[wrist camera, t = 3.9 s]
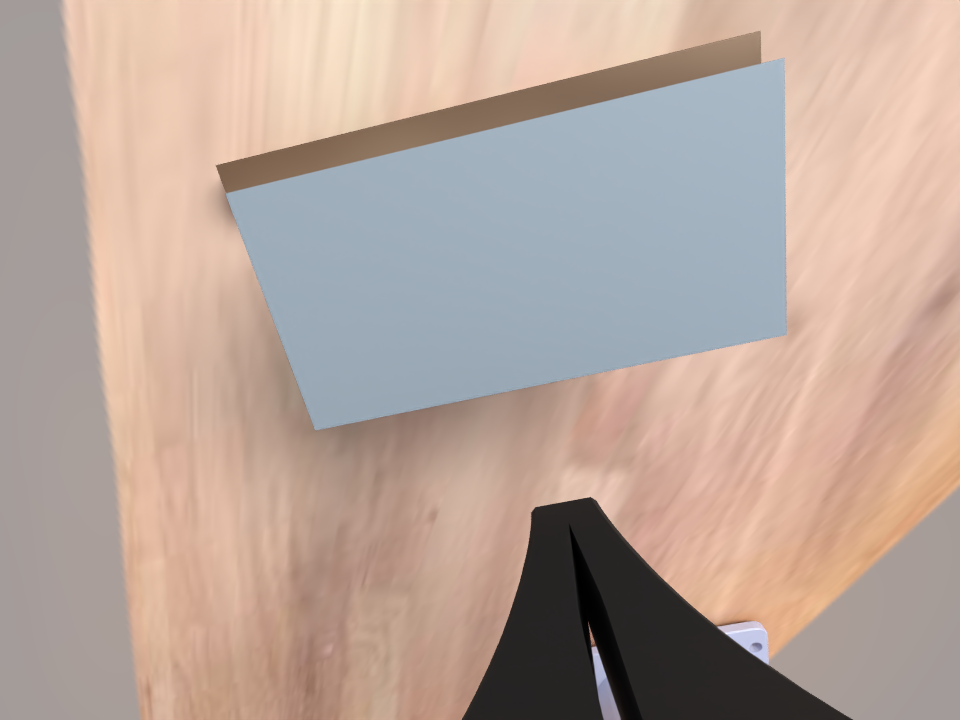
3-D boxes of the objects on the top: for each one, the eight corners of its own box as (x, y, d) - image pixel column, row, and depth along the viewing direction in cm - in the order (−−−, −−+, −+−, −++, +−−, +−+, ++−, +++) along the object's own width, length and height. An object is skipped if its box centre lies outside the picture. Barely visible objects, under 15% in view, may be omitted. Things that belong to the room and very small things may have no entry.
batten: (741, 75, 13) (761, 67, 12) (244, 195, 14) (227, 197, 14) (740, 40, 13) (760, 30, 12) (233, 165, 14) (215, 165, 13)
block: (644, 258, 15) (786, 335, 8) (388, 314, 16) (315, 430, 9) (628, 114, 14) (784, 57, 7) (348, 181, 14) (225, 193, 7)
